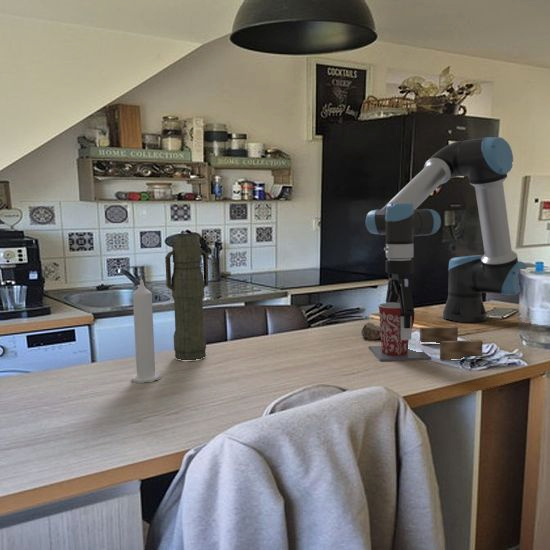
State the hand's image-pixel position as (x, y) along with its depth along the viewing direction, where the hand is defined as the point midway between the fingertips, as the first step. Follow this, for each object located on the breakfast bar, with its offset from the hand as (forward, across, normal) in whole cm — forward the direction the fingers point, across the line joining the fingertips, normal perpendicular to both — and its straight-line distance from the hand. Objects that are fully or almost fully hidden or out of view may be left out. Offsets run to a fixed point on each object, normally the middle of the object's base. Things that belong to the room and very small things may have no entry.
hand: (399, 333), depth 156 cm
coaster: (+6, 0, 0) cm, 6 cm away
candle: (+5, +16, -68) cm, 70 cm away
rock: (+6, -21, -2) cm, 22 cm away
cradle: (+6, -1, +15) cm, 16 cm away
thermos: (+5, -3, -59) cm, 60 cm away
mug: (+5, 0, 0) cm, 5 cm away
